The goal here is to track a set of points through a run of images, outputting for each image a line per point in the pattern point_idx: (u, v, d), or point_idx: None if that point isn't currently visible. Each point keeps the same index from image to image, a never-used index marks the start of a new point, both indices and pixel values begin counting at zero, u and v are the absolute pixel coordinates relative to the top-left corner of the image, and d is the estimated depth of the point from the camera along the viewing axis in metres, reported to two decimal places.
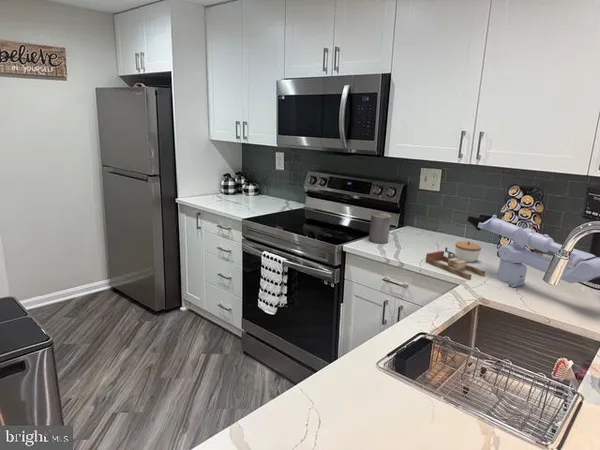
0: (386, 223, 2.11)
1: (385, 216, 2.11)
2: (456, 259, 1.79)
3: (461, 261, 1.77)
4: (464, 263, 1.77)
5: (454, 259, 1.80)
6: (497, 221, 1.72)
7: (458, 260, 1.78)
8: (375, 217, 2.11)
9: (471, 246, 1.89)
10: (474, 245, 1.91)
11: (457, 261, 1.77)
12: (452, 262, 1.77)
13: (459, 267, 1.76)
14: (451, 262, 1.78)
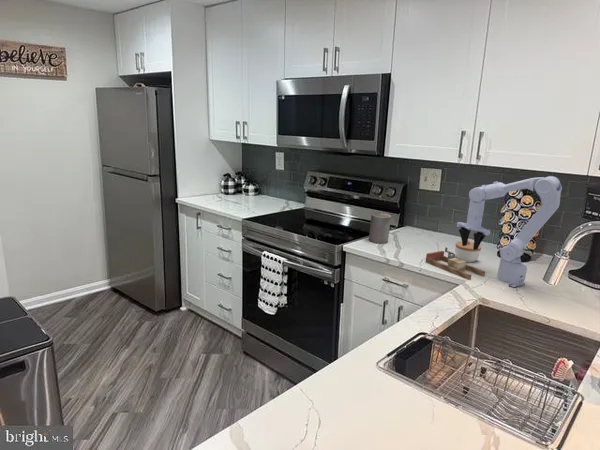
0: (386, 223, 2.11)
1: (385, 216, 2.11)
2: (456, 259, 1.79)
3: (461, 261, 1.77)
4: (464, 263, 1.77)
5: (454, 259, 1.80)
6: (473, 222, 1.75)
7: (458, 260, 1.78)
8: (375, 217, 2.11)
9: (471, 246, 1.89)
10: None
11: (457, 261, 1.77)
12: (452, 262, 1.77)
13: (459, 267, 1.76)
14: (451, 262, 1.78)
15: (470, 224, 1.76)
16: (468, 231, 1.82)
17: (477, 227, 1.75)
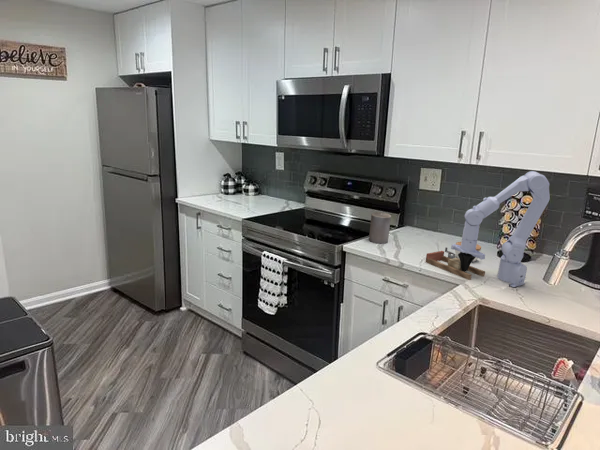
0: (386, 223, 2.11)
1: (385, 216, 2.11)
2: (456, 259, 1.79)
3: None
4: None
5: (454, 259, 1.80)
6: (468, 245, 1.70)
7: (458, 260, 1.78)
8: (375, 217, 2.11)
9: None
10: None
11: (457, 261, 1.77)
12: (452, 262, 1.77)
13: (459, 267, 1.76)
14: (451, 262, 1.78)
15: (464, 247, 1.71)
16: None
17: (472, 250, 1.70)
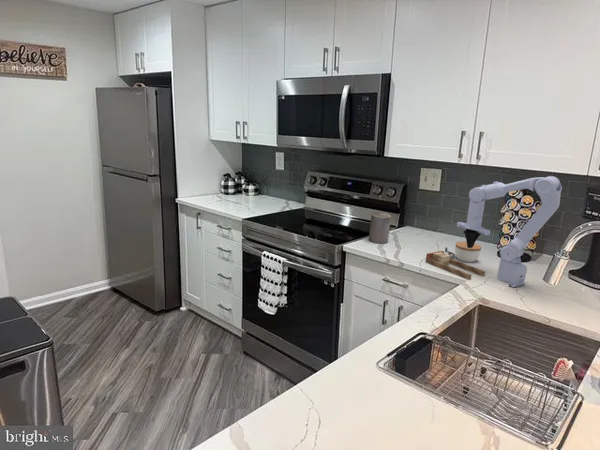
0: (386, 223, 2.11)
1: (385, 216, 2.11)
2: (441, 253, 1.86)
3: (445, 255, 1.84)
4: (448, 257, 1.84)
5: (438, 253, 1.86)
6: (473, 222, 1.75)
7: (442, 254, 1.85)
8: (375, 217, 2.11)
9: None
10: (474, 245, 1.91)
11: (441, 255, 1.83)
12: (436, 256, 1.84)
13: (443, 261, 1.82)
14: (436, 256, 1.84)
15: (470, 224, 1.76)
16: None
17: (477, 227, 1.75)
